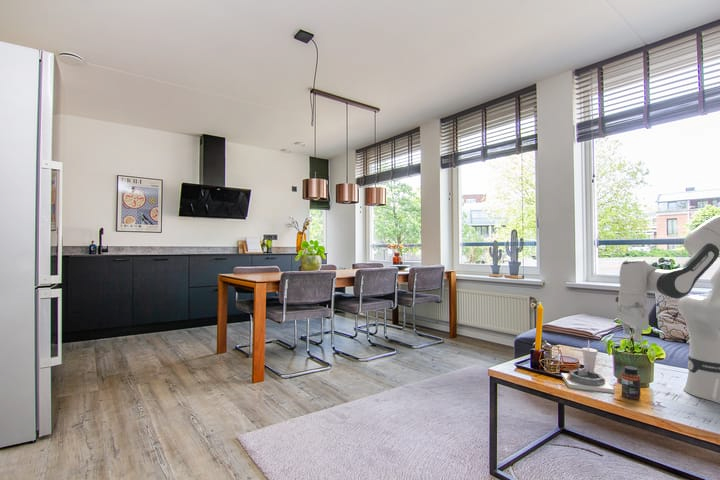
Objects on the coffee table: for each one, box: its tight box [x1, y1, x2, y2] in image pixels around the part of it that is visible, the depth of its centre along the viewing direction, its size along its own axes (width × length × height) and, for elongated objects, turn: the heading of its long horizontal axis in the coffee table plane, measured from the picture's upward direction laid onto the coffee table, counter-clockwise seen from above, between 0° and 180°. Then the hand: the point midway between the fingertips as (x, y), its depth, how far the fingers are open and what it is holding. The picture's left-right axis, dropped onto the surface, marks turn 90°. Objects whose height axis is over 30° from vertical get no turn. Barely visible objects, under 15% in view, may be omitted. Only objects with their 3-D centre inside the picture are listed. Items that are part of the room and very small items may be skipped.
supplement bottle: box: [621, 365, 641, 400], centre depth 145 cm, size 6×6×11 cm
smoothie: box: [581, 339, 599, 372], centre depth 175 cm, size 6×6×14 cm
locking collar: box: [567, 369, 606, 386], centre depth 157 cm, size 14×12×2 cm
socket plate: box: [560, 372, 615, 394], centre depth 157 cm, size 16×14×2 cm
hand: (631, 336), depth 145 cm, fingers open, 8 cm apart
